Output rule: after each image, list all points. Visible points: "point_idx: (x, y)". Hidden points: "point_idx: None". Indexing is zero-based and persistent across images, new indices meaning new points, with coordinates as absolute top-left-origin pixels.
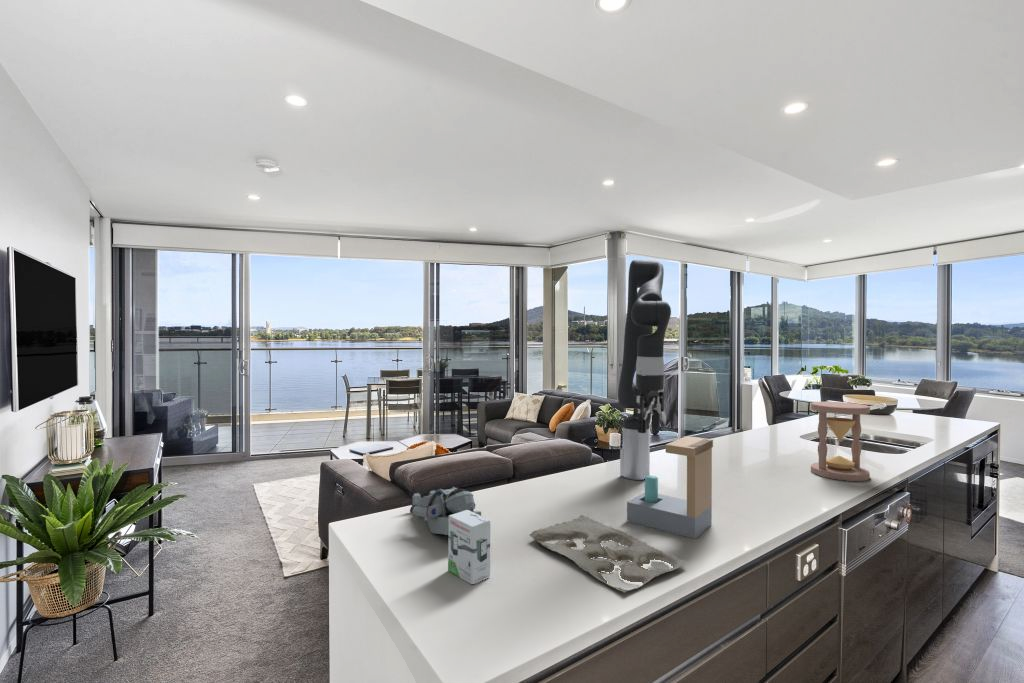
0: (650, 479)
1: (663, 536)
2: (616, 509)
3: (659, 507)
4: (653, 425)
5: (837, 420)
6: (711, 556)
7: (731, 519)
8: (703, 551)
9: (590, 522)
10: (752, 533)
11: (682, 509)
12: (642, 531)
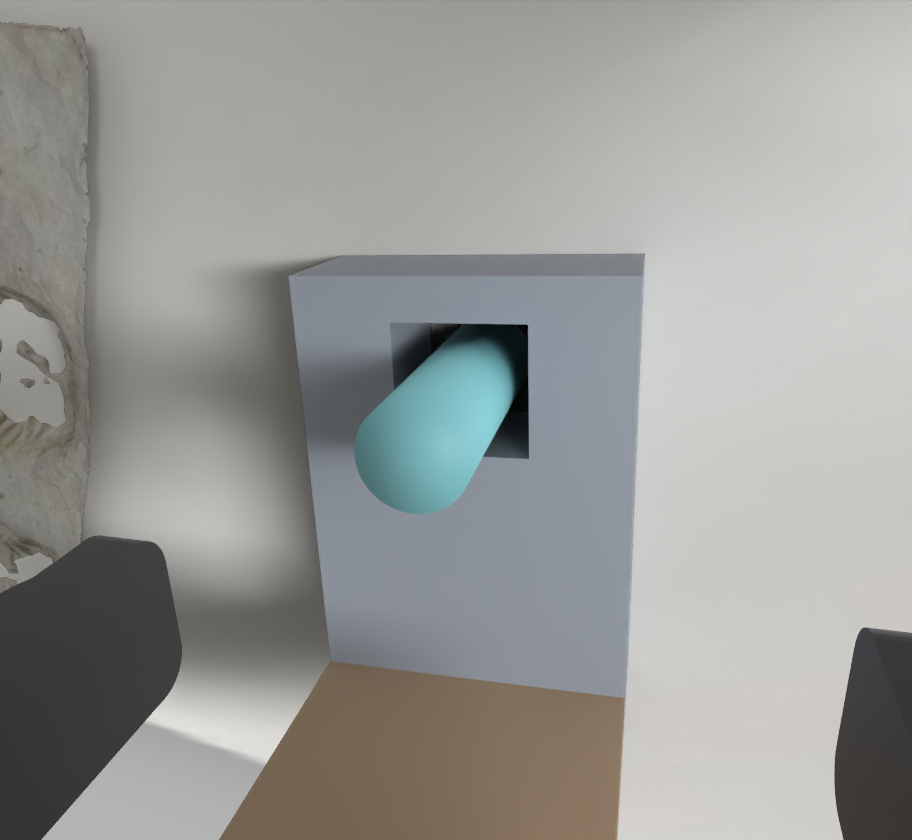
0: (360, 469)
1: (292, 507)
2: (482, 78)
3: (350, 496)
4: (868, 702)
5: None
6: (254, 717)
7: (791, 734)
8: (274, 685)
9: (59, 149)
10: (633, 829)
11: (417, 618)
12: (270, 399)
